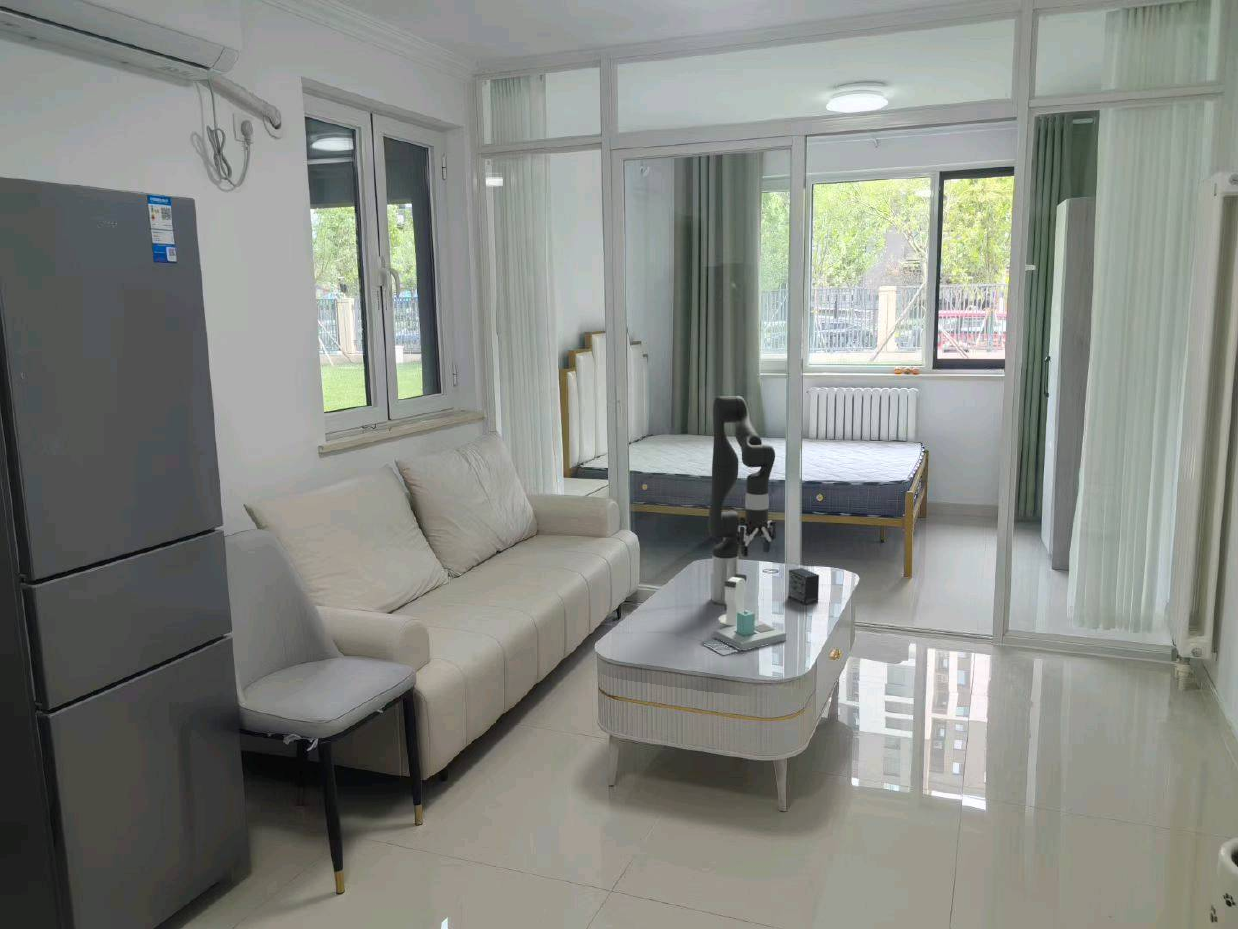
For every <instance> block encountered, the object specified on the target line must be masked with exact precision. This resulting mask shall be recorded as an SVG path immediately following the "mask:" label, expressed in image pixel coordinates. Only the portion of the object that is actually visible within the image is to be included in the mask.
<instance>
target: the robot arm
mask: <svg viewBox="0 0 1238 929" xmlns="http://www.w3.org/2000/svg"><path fill="white" fill-rule="evenodd" d="M712 408H713V409H712V421H713V422H712V423H713V447H712V459H711V460H712V462H711V491H710V492H711V494H710V502H709V511H708V522H707V524H708V527H707V528H708V533H709V535H710V537H712V538H714V539H721V538H725V539H724V540H723V541H721V542H720V543H718V544H716V545H714V546H713V548H712V573H711V575H710V599H712V602H713V603H715V604H719V605H725V604H726V603H725V596H724V592H725V588H726V586H725V581H728V580H729V579H730V578H731V577H735V574H739V550H740V549H741V552H740V554H741V555H742V557H744V558H747V557H748V556H749V543H750V542H751V541H752V540H753V539H754V538H757V537H762V539H763V541H762V542H763V543H762V546H763V548H762V551H763V552H764V553H765V554H767V553H770V550H771V542H772V540H775V539H776V538H777V535H776V522H775V521H774V520H771V519H769V505H770V504H769V503H770V498H769V485H770V484H769V482H770V476H771V472H772V469H773V467H774V463H775V460H776V452H775V449H774V447H773V446H772V445H770V444H763V442H762V439H761V437H760V435H759V434H758V431H757V430H756V429H755V427H754V424H753V420H752V418H751V417H752V416H751V414H750V410H749V408H748V404H747V402H746V400H745V399H744V398H743V396H740V395H729V396H728V395H725V396H723V395H721V396H717V397H715V398H714V401H713V405H712ZM729 423H731V424H732V423H733V424H734V423H738V425H737V427H736V429H735V435H734V436H735V439H736V441H737V443H738V445H739V447H740V450H741V462H742V464H743V465H744V466H745V467H747V468H760V469H759V470H758V471H757V472H754V473H749V474H748V475H746V485H745V486H746V489H745V490H746V492H745V498H744V499H745V501H744V520H745V524H744V525H741V518H740V516H739V513H738V512H737V511H735V510H727V511H723V507H724V503H725V500H726V498H727V496H728V494H729V493H730V492H731V490H732V489H733V487H734V486H735V484H736V482H737V480H738V478H739V477H738V476H739V464H740V463H739V462H740V461H739V457H738V455H737V453H736V451H735V449H734V448H733V446H732V444H731V443H730V441H729V439H728V437H727V435H726V434H727V433H726V431H725V424H729ZM740 545H741V546H740ZM726 605H727V604H726Z"/></svg>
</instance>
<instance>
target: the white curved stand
mask: <svg viewBox="0 0 1238 929" xmlns="http://www.w3.org/2000/svg"><path fill="white" fill-rule="evenodd" d="M747 578H748V577H747V575H746V574H742V573H738V574H735V577H731V578H730V579H729V580H728V581H725V586H726V588H725V592H724V596H725V603H726V604H727V605H726V604H724V610H725V611H726V614H722V615H720V616H719V617H718V622H719V623H720V624H722V625H727V626H729V627H731V626H736V625H737V612H740V611H744V609H745V608H744V604H745V600H746V596H747V583H746V582H747Z"/></svg>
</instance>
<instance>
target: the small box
mask: <svg viewBox="0 0 1238 929" xmlns="http://www.w3.org/2000/svg"><path fill="white" fill-rule="evenodd" d="M819 585H820V575H819V574H817V573H815V572H813V571H810V570H807V569H805V568H802V567H801V568H794V569H793V568H792V569H789V570H788V592H787V594H788V595H787V597H788V598H790V599H792V600H794V601H796V602H798V603H801V604H802V605H805V606H806V605H810V604H817V603H819V590H820V589H819V587H820V586H819Z"/></svg>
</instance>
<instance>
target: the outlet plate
mask: <svg viewBox="0 0 1238 929" xmlns="http://www.w3.org/2000/svg"><path fill="white" fill-rule="evenodd" d="M714 638H715V639H717V638H718V639H717V640H719V639H720V640H722V641H724V642H726V643H728V644H731V645H733V646H735V647H737V648H739V649H740V650H745V649H749V648H753V647H757V646H761V647H763V646H762V645H765V646H767V645H766V644H769V645H772V644H776V643H781V642H784V640H785V641H787V632H785V631H783V630H781V629H779V628H776V627H774V626H772V625H771V624H768V623H766V622H763V621H761V620H755V625H754V635H750V636H746V637H743V636H741V635H739V634H737V625H736V626H729V627H728V626H727V627H724V628H718V629H715V630H714ZM720 640H719V641H720ZM722 641H721V642H722ZM780 641H781V642H780ZM724 642H723V643H724ZM726 643H725V644H726ZM728 644H727V645H728ZM757 648H758V647H757ZM753 649H754V648H753ZM740 650H739V651H740ZM749 650H750V649H749ZM745 651H746V650H745Z"/></svg>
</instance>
